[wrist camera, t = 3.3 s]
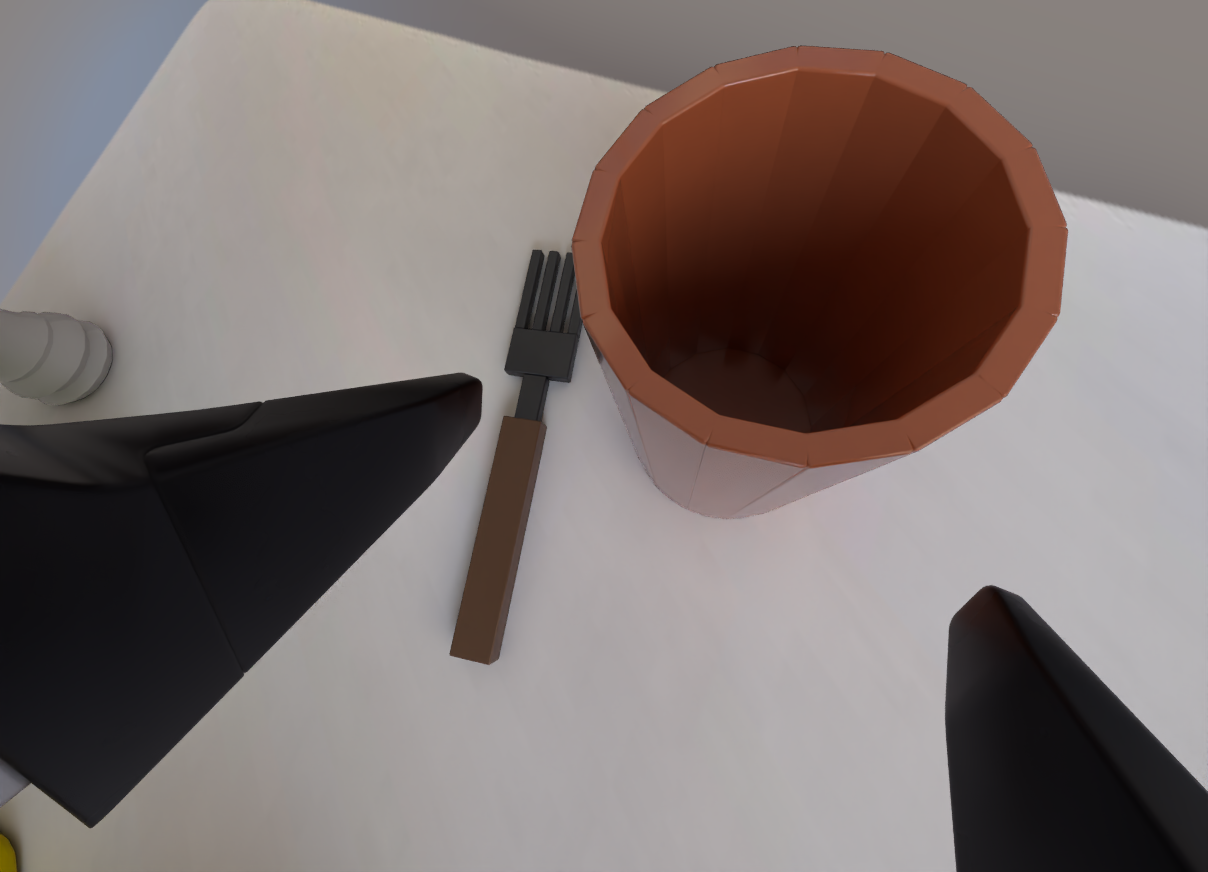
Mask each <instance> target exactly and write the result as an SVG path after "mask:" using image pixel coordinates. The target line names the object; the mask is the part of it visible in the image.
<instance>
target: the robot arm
mask: <svg viewBox="0 0 1208 872" xmlns="http://www.w3.org/2000/svg"><path fill="white" fill-rule="evenodd" d="M481 410H482V383H481V381H480V380H479V379H477V378H475V377H473V376H470V375H468V374H465V373H454V374H447V375H440V376H433V377H426V378H419V379H412V380H405V381H398V382H391V383H385V384H378V385H371V386H364V387H357V388H350V389H343V390H336V391H329V392H322V393H316V394H309V395H302V396H295V397H288V398H281V399H274V400H267V401H265V402H264V403H262V402H253V403H246V404H239V405H232V406H224V407H217V408H209V409H201V410H193V411H183V412H174V413H165V414H155V415H145V416H135V417H124V418H114V419H103V420H93V421H83V422H72V423H62V424H51V425H35V426H23V425H1V424H0V808H1V807H2V806H3V805H4V804H6V803H7V802H8V801H9V800H11V799H12V798H13V797H14V796H16V795H17V794H18V793H19V792H21V791H22V790H23V789H24V788H26V787H27V786H28V785H29V784H31V783H32V784H34V785H35V786H36V787H37V788H39V789H40V790H41V791H42V792H44V793H45V794H46V795H48V796H49V797H50V798H51V799H53V800H54V801H55V802H57V803H58V804H59V805H60V806H62V807H63V808H64V809H66V810H67V811H68V812H69V813H71V814H72V815H73V816H75V817H76V818H77V819H78V820H80V821H81V822H82V823H84V824H85V825H86V826H87V827H89V828H93V827H94V826H95V825H96V824H97V823H98V822H100V821H101V820H102V819H103V818H104V817H105V816H106V815H107V814H108V813H109V812H110V811H111V810H112V809H113V808H114V807H115V806H116V805H117V804H118V803H119V802H120V801H121V800H122V799H123V798H124V797H125V796H126V795H127V794H128V793H129V792H130V791H131V790H132V789H133V788H134V787H135V786H136V785H137V784H138V783H139V782H140V781H141V780H142V779H143V778H144V777H145V776H146V775H147V774H148V773H149V772H150V771H151V770H152V769H153V768H154V767H155V766H156V765H157V764H158V763H159V762H160V760H161V759H162V758H163V757H164V756H165V755H166V754H167V753H168V752H169V751H170V750H171V749H172V748H173V747H174V746H175V745H176V744H177V743H178V742H179V741H180V740H181V739H182V738H183V737H184V736H185V735H186V734H187V733H188V732H189V731H190V730H191V729H192V728H193V727H194V726H195V725H196V724H197V723H198V722H199V721H200V720H201V719H202V718H203V717H204V716H205V715H206V714H207V713H208V712H209V711H210V710H211V709H212V708H213V707H214V706H215V705H216V704H217V703H218V702H219V700H220V699H221V698H222V697H223V696H224V695H225V694H226V693H227V692H228V691H229V690H230V689H231V688H232V687H233V686H234V685H235V684H236V683H237V682H238V681H239V680H240V679H241V678H242V677H243V676H244V673H246V672H247V671H249V669H250V668H251V667H252V666H253V665H254V664H255V663H256V662H257V661H258V660H259V659H260V658H261V657H262V656H263V655H264V654H265V653H266V652H267V651H268V650H269V649H270V648H271V647H272V646H273V645H274V644H275V643H276V642H277V641H278V640H279V639H280V638H281V637H282V636H283V635H284V634H285V633H286V632H287V631H288V630H289V629H290V628H291V627H292V626H293V625H294V624H295V623H296V622H297V621H298V620H299V619H300V618H301V617H302V616H303V615H304V614H305V612H306V611H307V610H308V609H309V608H310V607H311V606H312V605H313V604H314V603H315V602H316V601H317V600H318V599H319V598H320V597H321V596H322V595H323V594H324V593H325V592H326V591H327V590H328V589H329V588H330V587H331V586H332V585H333V584H334V583H335V582H336V581H337V580H338V579H339V578H340V577H341V576H342V575H343V574H344V573H345V572H346V571H347V570H348V569H349V568H350V567H351V566H352V565H353V564H354V563H355V562H356V561H357V560H358V559H359V558H360V556H361V555H362V554H363V553H364V552H365V551H366V550H367V549H368V548H369V547H370V546H371V545H372V544H373V543H374V542H375V541H376V540H377V539H378V538H379V537H380V536H381V535H382V534H383V533H384V532H385V531H386V530H387V529H388V528H389V527H390V526H391V525H392V524H393V523H394V522H395V521H396V520H397V519H398V518H399V517H400V516H401V515H402V514H403V513H404V512H405V511H406V510H407V509H408V508H409V507H410V506H411V505H412V504H413V503H414V502H415V501H416V499H417V498H418V497H419V496H420V495H421V494H422V493H423V492H424V491H425V490H426V489H427V488H428V487H429V486H430V485H431V484H432V483H433V482H434V481H435V479H436V478H437V477H438V476H439V475H440V473H441V472H442V471H443V470H444V468H445V467H446V466H447V465H448V463H449V462H450V461H451V459H452V458H453V457H454V456H455V454H456V453H457V452H458V450H459V449H460V448H461V447H462V445H463V444H464V443H465V442H466V440H467V439H468V438H469V436H470V435H471V434H472V433H473V431H474V430H475V429H476V427H477V426H478V424H479V422H480V419H481ZM945 726H946V742H947V755H948V768H949V781H950V794H951V807H952V820H953V833H954V846H955V859H956V872H1208V791H1207V790H1206V789H1205V788H1204V787H1203V786H1202V785H1201V784H1200V783H1199V782H1198V781H1197V780H1196V779H1195V778H1194V777H1193V776H1192V775H1191V774H1190V773H1189V771H1188V770H1187V769H1186V768H1185V767H1184V766H1183V765H1182V764H1181V763H1180V762H1179V761H1178V760H1177V759H1176V758H1175V757H1174V756H1173V755H1172V754H1171V753H1170V752H1169V751H1168V750H1167V748H1166V747H1165V746H1164V745H1163V744H1162V743H1161V742H1160V741H1159V740H1158V739H1157V738H1156V737H1155V736H1154V735H1153V734H1152V733H1151V732H1150V731H1149V730H1148V729H1147V728H1146V727H1145V725H1144V724H1143V723H1142V722H1141V721H1140V720H1139V719H1138V718H1137V717H1136V716H1135V715H1134V714H1133V713H1132V712H1131V711H1130V710H1129V709H1128V708H1127V707H1126V706H1125V705H1124V704H1123V703H1122V701H1121V700H1120V699H1119V698H1118V697H1117V696H1116V695H1115V694H1114V693H1113V692H1112V691H1111V690H1110V689H1109V688H1108V687H1107V686H1106V685H1105V684H1104V683H1103V682H1102V681H1101V680H1100V678H1099V677H1098V676H1097V675H1096V674H1095V673H1094V672H1093V671H1092V670H1091V669H1090V668H1089V667H1088V666H1087V665H1086V664H1085V663H1084V662H1083V661H1082V660H1081V659H1080V658H1079V657H1078V655H1077V654H1076V653H1075V652H1074V651H1073V650H1072V649H1071V648H1070V647H1069V646H1068V645H1067V644H1066V643H1065V642H1064V641H1063V640H1062V639H1061V638H1060V637H1059V636H1058V635H1057V634H1056V632H1055V631H1054V630H1053V629H1052V628H1051V627H1050V626H1049V625H1048V624H1047V623H1046V622H1045V621H1044V620H1043V619H1042V618H1041V617H1040V616H1039V615H1038V614H1037V613H1036V612H1035V611H1034V609H1033V608H1032V607H1031V606H1030V605H1029V604H1028V603H1027V602H1026V601H1025V600H1024V599H1023V598H1022V597H1020V596H1018V595H1016V594H1014V593H1011V592H1009V591H1006V590H1004V589H1001V588H999V587H996V586H993V585H989V586H985V587H983V588H982V589H980V590H979V591H978V592H977V593H976V594H975V595H974V596H973V597H972V598H971V599H970V600H969V601H968V602H967V603H966V604H965V605H964V606H963V607H962V608H961V609H960V610H959V611H958V612H957V613H956V614H955V615H954V617H953V618H952V620H951V623H950V626H949V639H948V660H947V680H946V701H945Z"/></svg>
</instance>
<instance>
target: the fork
mask: <svg viewBox="0 0 1208 872" xmlns="http://www.w3.org/2000/svg"><path fill="white" fill-rule="evenodd" d="M543 260H544V254H543V252H542V250H533V252H532V256H531V260H530V264H529V269H528V273H527V277H526V282H525V286H524V290H523V295H522V299H521V303H520V308H519V312H518V316H517V321H516V325H515V328H514V330H513V335H512V339H511V343H510V348H509V352H508V356H507V360H506V365H505V369H504V370H505V371H506V373H507V374H509V375H514V376H521V377H523V381H522V386H521V390H520V395H519V399H518V404H517V408H516V413H515V417H509V416H504V417H503V421H502V426H501V430H500V434H499V439H498V443H497V448H496V452H495V456H494V461H493V465H492V470H491V474H490V478H489V483H488V487H487V492H486V496H485V500H484V505H483V509H482V514H481V518H480V522H479V527H478V531H477V536H476V540H475V544H474V549H473V553H472V558H471V562H470V566H469V571H468V575H467V580H466V584H465V588H464V593H463V597H462V601H461V606H460V610H459V615H458V619H457V623H456V628H455V632H454V637H453V641H452V645H451V650H450V656H454V657H458V658H462V659H466V660H470V661H475V662H479V663H483V664H487V665H490V664H491V663H493V662H495V661H496V660H498V659H499V655H500V650H501V645H502V640H503V636H504V631H505V626H506V621H507V616H508V612H509V607H510V602H511V597H512V592H513V588H514V583H515V578H516V573H517V568H518V564H519V559H520V554H521V549H522V545H523V540H524V535H525V530H526V525H527V521H528V516H529V511H530V506H531V501H532V497H533V492H534V487H535V482H536V477H537V473H538V468H539V463H540V458H541V453H542V449H543V444H544V439H545V434H546V429H547V427H546V426H545V425H544V424H543V423H542V422H541V419H542V414H543V409H544V405H545V400H546V395H547V391H548V386H549V380H552V381H560V382H568V383H569V382H570V381H571V376H572V371H573V366H574V361H575V356H576V351H577V346H578V342H579V337H580V332H581V327H582V319H581V317H580V309H579V301H578V294H577V290H576V295H575V300H574V305H573V309H572V314H571V319H570V324H569V329H568V333H563V328H564V324H565V319H566V314H567V309H568V305H569V300H570V295H571V290H572V286H573V281H574V276H575V271H574V263H573V256H572V253H569V252H568V253H567V255H566V259H565V264H564V268H563V273H562V278H561V282H560V287H559V292H558V296H557V301H556V305H555V310H554V315H553V319H552V324H551V329H550V331H545V328H546V324H547V319H548V315H549V310H550V305H551V301H552V296H553V292H554V287H555V283H556V278H557V273H558V269H559V264H560V260H561V257H560V254H559V252H557V251H550V252H549V256H548V261H547V265H546V269H545V274H544V278H543V283H542V287H541V292H540V296H539V301H538V305H537V310H536V314H535V319H534V323H533V328H532V329H528V327H529V322H530V318H531V313H532V309H533V305H534V300H535V296H536V291H537V287H538V282H539V278H540V274H541V269H542V265H543Z"/></svg>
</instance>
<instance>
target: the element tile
mask: <svg viewBox="0 0 1208 872" xmlns="http://www.w3.org/2000/svg"><path fill="white" fill-rule="evenodd" d="M0 872H17V863H16V854H15V851H14V849H13V847H12V845H11V844H10V842H9V840H8V839H7V838H6V837H5V836H3V835H2V834H0Z"/></svg>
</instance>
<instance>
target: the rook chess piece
mask: <svg viewBox="0 0 1208 872" xmlns="http://www.w3.org/2000/svg"><path fill="white" fill-rule="evenodd" d="M111 363H112V347H111V345H110V343H109V341H108V339H107V337H106V336H105V334H104V333H103V331H102V330H101V328H99V327H97V326H96V325H94V324H93V323H91V322H90V321H77V320H76V319H74V318H73V317H71V316H69V315H67V314H61V313H50V312H42V313H38V314H37V313H35V312H26V311H23V312H20V313H18V312H12V311H7V310H3V309H0V382H1V384H2V385H3V386H4V387H6V388H7V389H8V390H10V391H11V392H12V393H14V394H16V395H19V396H21V397H24V398H34V399H39V400H40V401H41V402H43V403H44V404H50V405H63V404H66V403H70V402H73V401H76V400H79V399H82V398H85V397H87V396H88V395H89V394H91V393H92V392H93V391H95V390H96V389H97V388H98V387H99V386H100V384H101V383H102V382H103V380H104V379H105V377H106V376H107V374H108V371H109V368H110V365H111Z"/></svg>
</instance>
